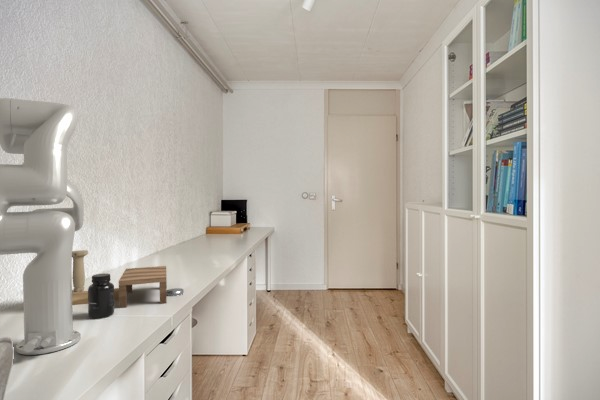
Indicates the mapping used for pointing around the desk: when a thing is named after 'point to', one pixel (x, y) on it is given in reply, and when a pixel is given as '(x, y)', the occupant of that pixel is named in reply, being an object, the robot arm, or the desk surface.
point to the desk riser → (142, 281)
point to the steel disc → (174, 292)
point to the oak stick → (83, 297)
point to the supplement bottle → (100, 297)
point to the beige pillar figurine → (78, 270)
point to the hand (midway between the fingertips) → (53, 302)
